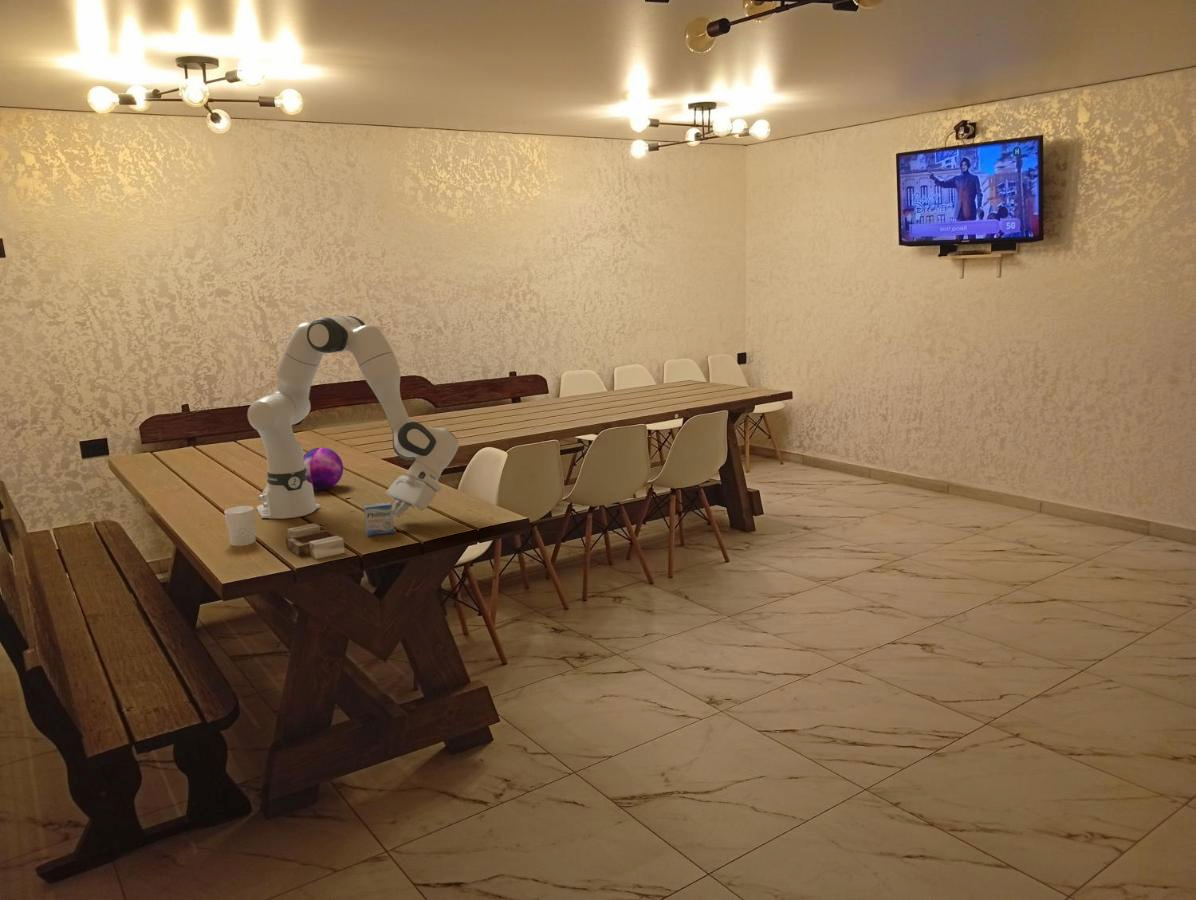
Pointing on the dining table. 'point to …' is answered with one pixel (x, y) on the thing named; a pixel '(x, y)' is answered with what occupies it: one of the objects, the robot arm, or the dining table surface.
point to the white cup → (240, 525)
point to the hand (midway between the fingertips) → (394, 515)
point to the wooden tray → (313, 542)
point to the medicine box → (378, 518)
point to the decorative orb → (323, 468)
